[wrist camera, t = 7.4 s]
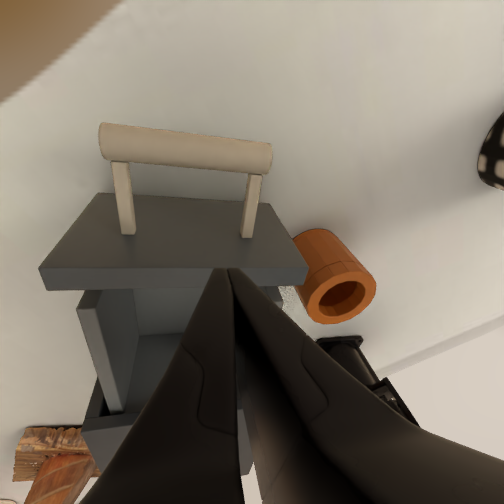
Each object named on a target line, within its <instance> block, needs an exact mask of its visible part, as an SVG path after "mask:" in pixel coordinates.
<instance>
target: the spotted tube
mask: <svg viewBox="0 0 504 504" xmlns="http://www.w3.org/2000/svg"><path fill="white" fill-rule="evenodd" d="M478 171H479V175H480V178H481V179H482V180H483V182H485V183H486V184H488V185H490V186H493V187H495V188H498V189H501V190H504V113H503V115H502V116H501V117H500V118H499V119H498V121H497V122H496V124H495V125H494V127H493V128H492V130H491V131H490V133H489V135H488V136H487V138H486V140H485V142H484V144H483V147H482V150H481V153H480V157H479V162H478Z"/></svg>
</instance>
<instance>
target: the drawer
mask: <svg viewBox="0 0 504 504" xmlns="http://www.w3.org/2000/svg"><path fill="white" fill-rule="evenodd" d="M99 146H100V150H101V153H102V156H103V157H104V159H106V160H112V161H111V168H112V175H113V181H114V188H115V194H113V193H97V194H96V196H95V197H94V198H93V199H92V201H91V202H90V203H89V204H88V206H87V207H86V208H85V209H84V211H83V212H82V213H81V215H80V216H79V217H78V218H77V220H76V221H75V222H74V223H73V225H72V226H71V227H70V228H69V230H68V231H67V232H66V233H65V235H64V236H63V237H62V239H61V240H60V241H59V242H58V244H57V245H56V246H55V247H54V249H53V250H52V251H51V252H50V254H49V255H48V256H47V257H46V259H45V260H44V261H43V262H42V264H41V265H40V266H39V268H38V270H39V272H40V275H41V277H42V280H43V282H44V285H45V287H46V290H48V291H57V290H85V292H84V294H83V296H82V298H81V300H80V302H79V304H78V306H77V308H76V311H77V314H78V317H79V320H80V323H81V326H82V329H83V332H84V335H85V338H86V341H87V345H88V348H89V351H90V354H91V357H92V360H93V363H94V366H95V369H96V372H97V375H98V378H99V381H100V384H101V387H102V390H103V393H104V396H105V399H106V403H107V406H108V409H109V412H110V415H119V414H126V413H134V412H141V411H142V410H143V408H144V407H145V405H146V403H147V402H148V400H149V399H150V397H151V395H152V394H153V392H154V390H155V388H156V387H157V385H158V383H159V382H160V380H161V378H162V377H163V375H164V373H165V371H166V369H167V367H168V365H169V363H170V361H171V359H172V357H173V355H174V353H175V350H176V348H177V346H178V345H179V342H180V340H181V338H182V336H183V334H184V331H185V329H186V327H187V325H188V323H189V321H190V318H191V316H192V314H193V312H194V310H195V308H196V305H197V303H198V301H199V299H200V297H201V295H202V292H203V290H204V288H205V286H206V284H207V282H208V279H209V277H210V275H211V273H212V271H213V269H214V268H226V269H227V268H240V269H241V270H242V271H243V272H244V273H245V274H246V275H247V276H248V277H249V278H250V279H251V280H252V281H253V282H254V283H255V284H256V285H257V286H258V287H259V288H260V289H261V290H262V291H263V292H264V293H265V294H266V295H267V296H269V297H270V298H271V299H272V300H273V301H274V302H275V303H276V304H277V305H278V306H279V307H280V308H281V309H282V305H283V299H282V297H281V294H280V292H279V289H278V287H277V286H297V285H303V284H304V281H305V278H306V275H307V272H308V270H309V267H308V265H307V263H306V262H305V260H304V258H303V257H302V255H301V254H300V252H299V250H298V249H297V247H296V246H295V244H294V242H293V241H292V239H291V237H290V236H289V234H288V233H287V231H286V229H285V228H284V226H283V225H282V223H281V221H280V220H279V218H278V216H277V215H276V213H275V212H274V210H273V208H272V207H271V205H270V204H269V203H258V200H259V194H260V188H261V183H262V177H263V176H262V175H261V174H263V175H266V174H268V172H269V170H270V168H271V163H272V146H271V144H269V143H262V142H254V141H246V140H238V139H230V138H222V137H214V136H206V135H198V134H190V133H182V132H174V131H166V130H158V129H150V128H142V127H135V126H127V125H119V124H111V123H101V124H100V127H99ZM129 162H134V163H144V164H155V165H166V166H177V167H187V168H198V169H209V170H220V171H230V172H241V173H248V180H247V187H246V194H245V201H244V202H238V201H222V200H206V199H191V198H175V197H160V196H144V195H132V186H131V178H130V169H129ZM236 387H237V399H239V398H240V393H239V388H238V383H237V378H236Z"/></svg>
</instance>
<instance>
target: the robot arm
mask: <svg viewBox="0 0 504 504" xmlns="http://www.w3.org/2000/svg"><path fill="white" fill-rule="evenodd" d="M362 342H363V338H362V337H361V336H354V337H341V338H329V339H320V340H318V341H317V343H315V342H314V341H313V340H312V339H311V338H310V337H309V336H308V335H307V336H306V333H305V332H304V331H303V330H302V329H301V328H300V327H299V326H298V325H297V324H296V323H295V322H294V321H293V320H292V319H291V318H290V317H289V316H288V315H287V314H286V313H285V312H284V311H283V310H282V309H281V308H280V307H279V306H278V305H277V304H276V303H275V302H274V301H273V300H272V299H271V298H270V297H269V296H267V295H266V294H265V293H264V292H263V291H262V290H261V289H260V288H259V287H258V286H257V285H256V284H255V283H254V282H253V281H252V280H251V279H250V278H249V277H248V276H247V275H246V274H245V273H244V272H243V271H242V270H241V269H240V268H227V269H226V268H214V269H213V271H212V273H211V275H210V277H209V279H208V282H207V284H206V286H205V288H204V290H203V292H202V295H201V297H200V299H199V301H198V303H197V305H196V308H195V310H194V312H193V314H192V316H191V318H190V321H189V323H188V325H187V327H186V329H185V331H184V334H183V336H182V338H181V340H180V342H179V345H178V346H177V348H176V350H175V353H174V355H173V357H172V359H171V361H170V363H169V365H168V367H167V369H166V371H165V373H164V375H163V377H162V378H161V380H160V382H159V383H158V385H157V387H156V388H155V390H154V392H153V394H152V395H151V397H150V399H149V400H148V402H147V403H146V405H145V407H144V408H143V410H142V411H141V413H140V414H139V416H138V418H137V419H136V421H135V422H134V424H133V426H132V427H131V429H130V430H129V432H128V434H127V435H126V437H125V438H124V440H123V441H122V443H121V445H120V446H119V448H118V449H117V451H116V453H115V454H114V456H113V457H112V459H111V460H110V462H109V463H108V465H107V466H106V468H105V469H104V471H103V472H102V474H101V475H100V477H99V478H98V479H97V481H96V482H95V484H94V485H93V486H92V488H91V489H90V490H89V492H88V493H87V494H86V495H85V497H84V498H83V499H82V500H81V501H80V503H79V504H245V501H244V494H243V488H242V481H241V474H240V462H239V445H238V416H237V387H236V378H237V383H238V388H239V393H240V398H241V403H242V407H243V412H244V417H245V422H246V427H247V432H248V436H249V441H250V446H251V451H252V456H253V461H254V465H255V470H256V475H257V479H258V485H259V489H260V494H261V499H262V500H263V501H262V504H504V461H503V460H501V459H498V458H495V457H492V456H490V455H487V454H485V453H482V452H479V451H477V450H474V449H471V448H469V447H466V446H463V445H461V444H458V443H456V442H453V441H450V440H447V439H445V438H443V437H440V436H437V435H435V434H432V433H430V432H428V431H426V430H424V429H422V428H420V426H419V424H418V423H417V421H416V420H415V418H414V417H413V415H412V414H411V412H410V411H409V409H408V408H407V406H406V405H405V403H404V402H403V400H402V399H401V397H400V396H399V394H398V393H397V392H396V390H395V389H394V387H393V386H392V384H391V383H390V381H389V380H388V378H387V377H385V378H383V380H381V381H380V380H379V379H378V377H377V376H376V374H375V372H374V371H373V369H372V368H371V366H370V364H369V363H368V361H367V359H366V358H365V356H364V355H363V353H362V351H361V350H360V348H359V347H360V345H361V343H362ZM391 398H393V400H392V399H391Z"/></svg>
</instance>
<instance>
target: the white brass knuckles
mask: <svg viewBox="0 0 504 504" xmlns="http://www.w3.org/2000/svg"><path fill="white" fill-rule="evenodd" d="M0 504H16V503H15V502H14V501H11V500H0Z"/></svg>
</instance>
